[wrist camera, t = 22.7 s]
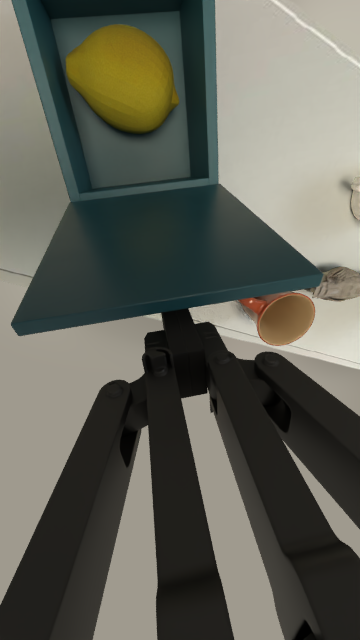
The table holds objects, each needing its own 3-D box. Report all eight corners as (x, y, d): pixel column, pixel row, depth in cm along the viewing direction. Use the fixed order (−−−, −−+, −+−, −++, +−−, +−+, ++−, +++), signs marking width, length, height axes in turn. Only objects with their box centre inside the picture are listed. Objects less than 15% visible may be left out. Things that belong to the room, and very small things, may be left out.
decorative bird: (359, 291, 49) (393, 309, 43) (284, 289, 46) (308, 308, 40) (372, 264, 46) (410, 278, 40) (293, 260, 44) (320, 275, 37)
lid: (9, 324, 11) (18, 337, 12) (324, 273, 12) (320, 286, 13) (69, 202, 24) (72, 210, 25) (220, 183, 26) (219, 192, 26)
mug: (289, 281, 45) (327, 307, 37) (261, 320, 49) (289, 352, 40) (237, 252, 41) (265, 273, 32) (209, 297, 44) (228, 327, 36)
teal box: (39, 10, 25) (-13, -80, 16) (186, 1, 27) (213, -87, 18) (88, 197, 34) (71, 206, 25) (197, 184, 35) (218, 187, 26)
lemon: (183, 75, 29) (199, 44, 22) (162, 152, 32) (170, 146, 25) (84, 20, 25) (66, -37, 19) (72, 112, 29) (52, 93, 22)
